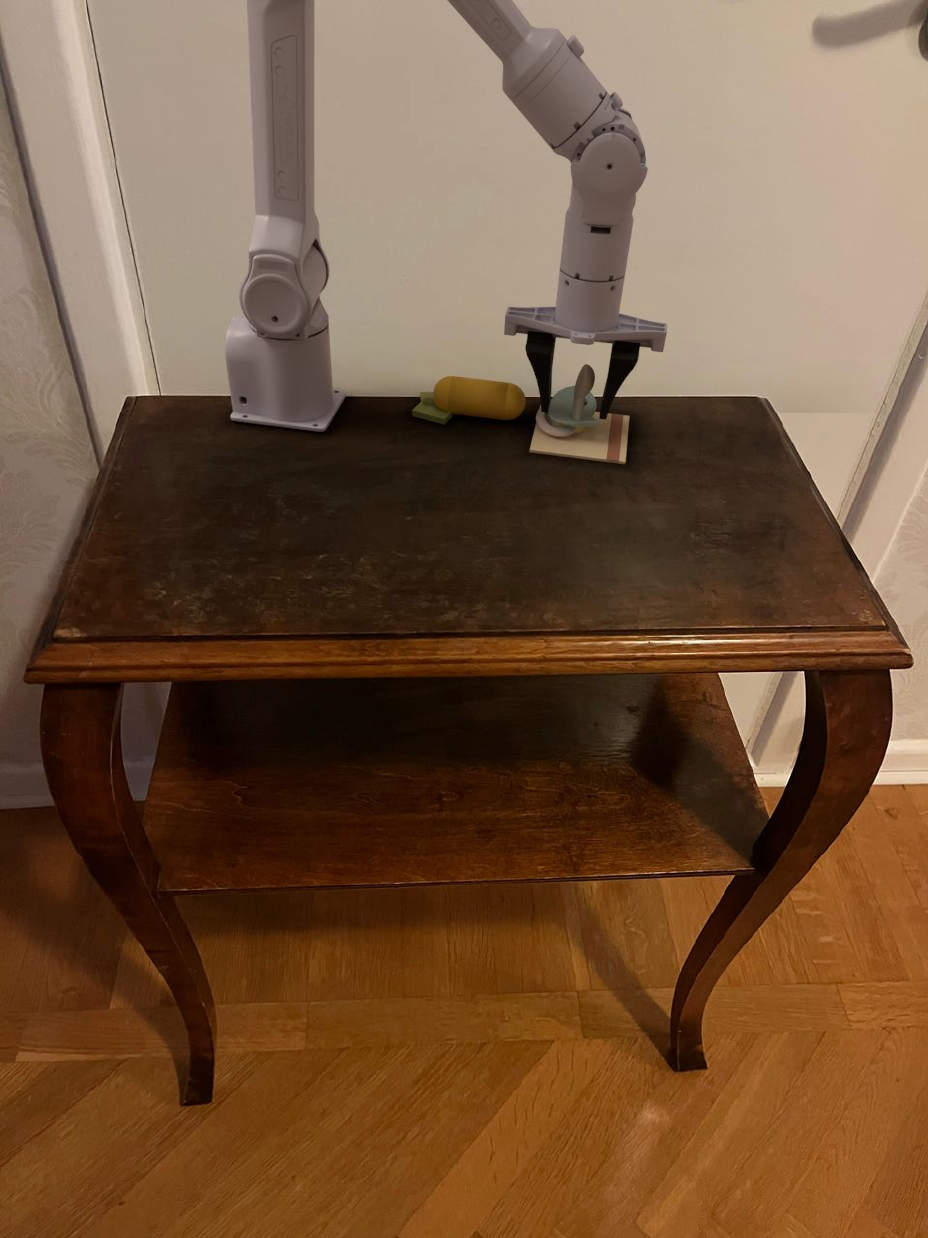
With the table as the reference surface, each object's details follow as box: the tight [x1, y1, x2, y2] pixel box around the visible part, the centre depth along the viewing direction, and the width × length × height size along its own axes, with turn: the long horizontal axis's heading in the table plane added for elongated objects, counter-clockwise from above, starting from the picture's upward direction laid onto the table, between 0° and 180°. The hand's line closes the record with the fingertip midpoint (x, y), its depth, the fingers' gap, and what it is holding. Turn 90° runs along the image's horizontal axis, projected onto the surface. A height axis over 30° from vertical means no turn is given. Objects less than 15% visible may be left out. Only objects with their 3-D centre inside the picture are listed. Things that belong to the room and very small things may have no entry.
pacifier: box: [535, 363, 599, 437], centre depth 87 cm, size 7×6×6 cm
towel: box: [529, 404, 630, 465], centre depth 88 cm, size 9×9×1 cm
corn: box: [411, 375, 526, 426], centre depth 89 cm, size 11×6×4 cm, turn 80°
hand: (574, 410), depth 88 cm, fingers closed on pacifier, 5 cm apart
